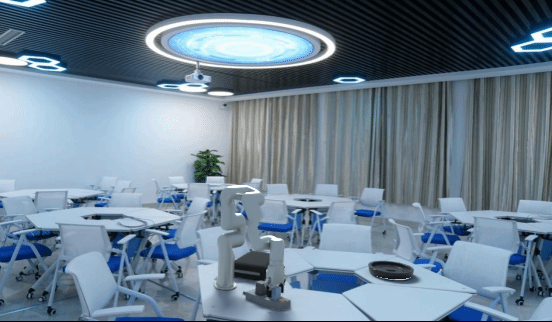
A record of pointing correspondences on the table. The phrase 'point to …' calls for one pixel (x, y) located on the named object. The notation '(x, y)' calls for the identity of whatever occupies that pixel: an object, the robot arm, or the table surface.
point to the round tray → (390, 269)
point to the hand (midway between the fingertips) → (275, 294)
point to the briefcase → (252, 266)
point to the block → (276, 293)
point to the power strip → (266, 298)
